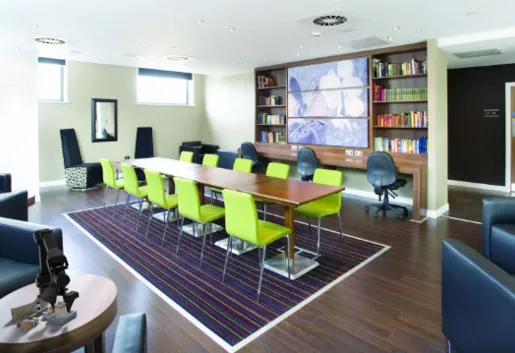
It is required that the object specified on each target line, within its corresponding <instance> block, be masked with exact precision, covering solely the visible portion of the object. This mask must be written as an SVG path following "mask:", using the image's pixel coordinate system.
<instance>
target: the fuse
mask: <svg viewBox="0 0 515 353" xmlns="http://www.w3.org/2000/svg"><path fill="white" fill-rule="evenodd" d="M21 321H22V320H21ZM21 321H19V322H20V325H21V326H20V330H21V331H24V330H25V331H26V332H27V331H28V330H30V329H31V328H32V327H33V326H32V325H31V320H28V319H26V318H25V320H24V319H23V321H22V322H21ZM25 331H24V332H25Z"/></svg>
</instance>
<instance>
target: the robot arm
mask: <svg viewBox="0 0 515 353" xmlns="http://www.w3.org/2000/svg"><path fill="white" fill-rule="evenodd" d="M54 236H55V234H54V229H50V228H49V227H47V228H42V229H37V230H35V231H33V233H32V238H33V240H34V242H35V243H36V245H37V246H38V256H39V257H38V258H39V259H38V260H39V269H38V270H37V272H36V276H35V280H34V283H35V287H36V288H37V289H38V292H39V294H38V295H36V296H37V298H41V300H42V301H43V302H46V303H49V304H50V306H52V308H53V309H55V304H56V303H57V302H58V301H57V300H58V297H62V300H63V302H64V303H65V304H66V309H67V312H70V310H72V307H73V305H74V303H75V301H76V300H77V299H78V298H79V297H80V293H79V291H75V290H70V291H69V288H68V287H67V286H68V285H69V284H70V282H71V277H70V276H69V275H68V274H67V272H66V270H68V269H69V261H68V258H67V256H66V255H65V254H64V253H63V251H62V250H61V249H59V248H58V247H57V246H58V245H57V243H56V241H55V238H54ZM67 291H68V292H67Z"/></svg>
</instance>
